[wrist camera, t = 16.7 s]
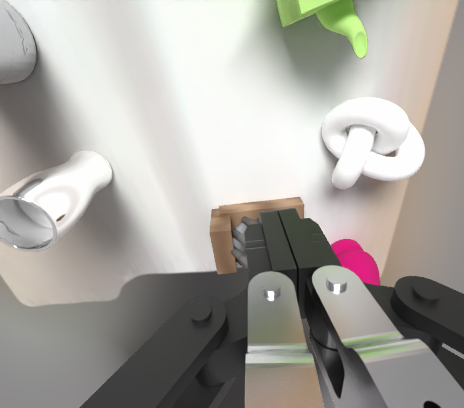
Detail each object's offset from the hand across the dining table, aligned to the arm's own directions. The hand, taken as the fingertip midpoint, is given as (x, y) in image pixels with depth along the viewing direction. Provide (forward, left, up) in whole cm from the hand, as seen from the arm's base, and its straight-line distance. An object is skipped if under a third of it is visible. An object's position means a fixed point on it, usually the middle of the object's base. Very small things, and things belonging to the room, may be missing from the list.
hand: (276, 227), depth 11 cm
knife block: (+1, -18, -27) cm, 32 cm away
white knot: (+15, -4, -27) cm, 31 cm away
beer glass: (-23, -5, -27) cm, 36 cm away
